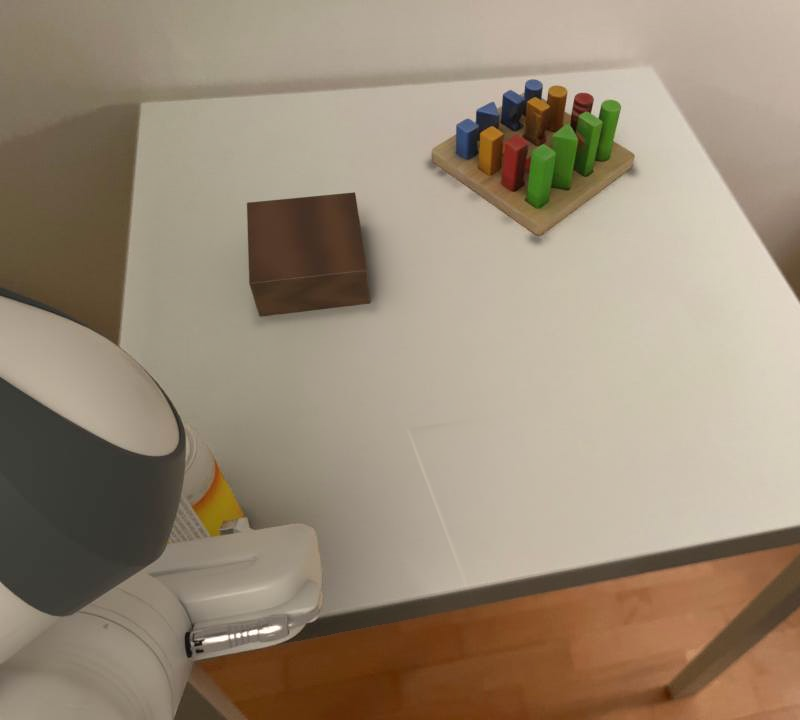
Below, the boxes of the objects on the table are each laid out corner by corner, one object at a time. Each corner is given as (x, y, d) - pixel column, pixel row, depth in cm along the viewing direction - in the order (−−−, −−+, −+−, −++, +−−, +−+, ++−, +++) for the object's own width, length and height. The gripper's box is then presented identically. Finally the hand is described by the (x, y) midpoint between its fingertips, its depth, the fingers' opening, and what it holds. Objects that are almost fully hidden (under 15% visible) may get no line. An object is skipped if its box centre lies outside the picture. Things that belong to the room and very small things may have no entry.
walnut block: (259, 316, 73) (249, 283, 69) (256, 237, 79) (246, 202, 75) (370, 303, 75) (367, 270, 71) (359, 226, 81) (355, 192, 77)
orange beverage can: (241, 494, 62) (194, 400, 50) (256, 560, 59) (210, 477, 47) (167, 517, 61) (100, 426, 48) (178, 586, 58) (109, 507, 45)
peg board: (527, 100, 95) (535, 38, 88) (634, 166, 89) (651, 106, 82) (429, 160, 88) (429, 98, 81) (538, 238, 81) (548, 178, 74)
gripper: (310, 563, 34) (321, 469, 47) (-188, 648, 31) (-25, 521, 44) (329, 686, 35) (334, 560, 48) (-149, 780, 32) (-2, 617, 45)
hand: (160, 542), depth 46 cm, fingers open, 8 cm apart
